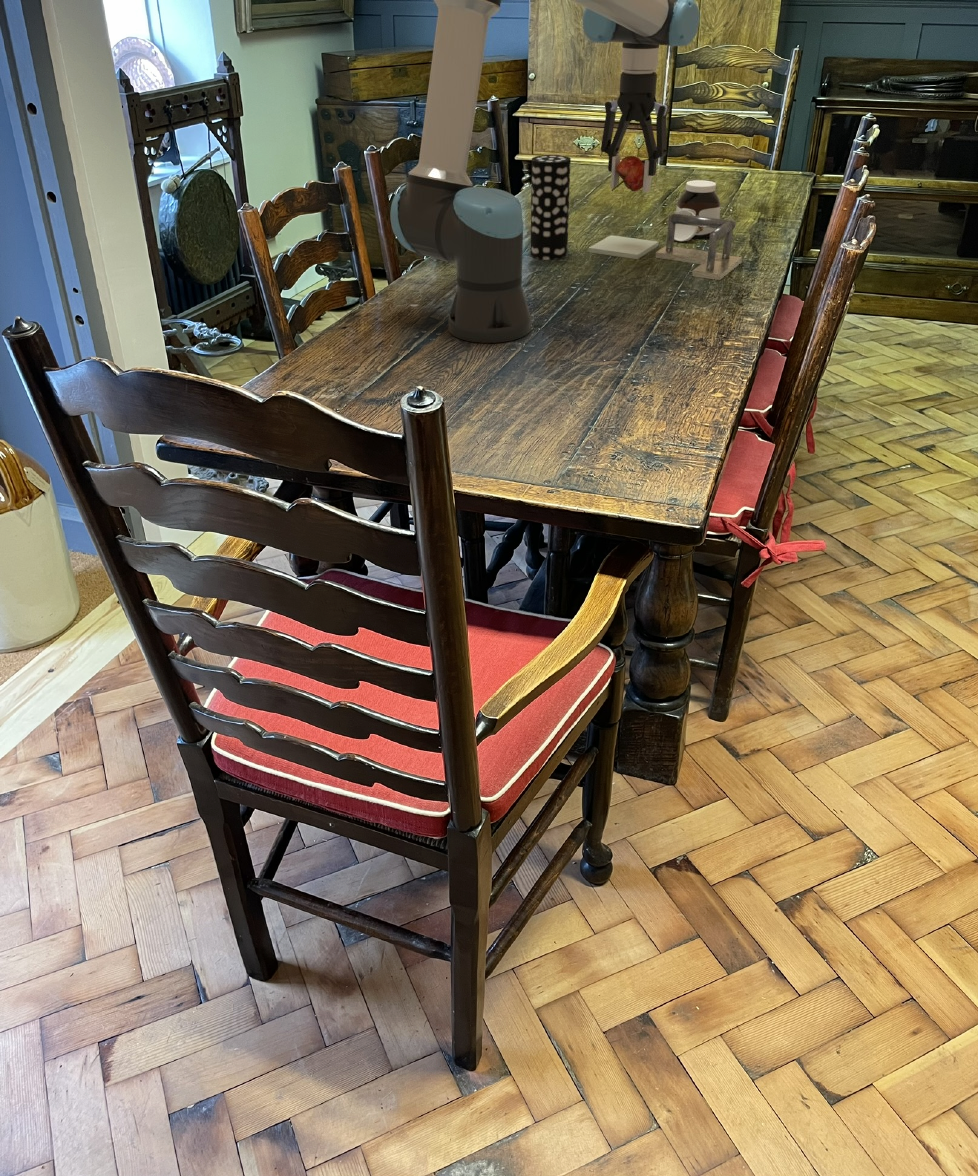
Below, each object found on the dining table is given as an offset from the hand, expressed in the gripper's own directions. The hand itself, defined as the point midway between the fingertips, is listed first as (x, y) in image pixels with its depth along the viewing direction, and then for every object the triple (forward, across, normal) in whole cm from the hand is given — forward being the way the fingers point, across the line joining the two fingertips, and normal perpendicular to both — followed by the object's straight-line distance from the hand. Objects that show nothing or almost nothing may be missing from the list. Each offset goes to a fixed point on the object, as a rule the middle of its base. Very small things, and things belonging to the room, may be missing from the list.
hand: (630, 189), depth 205 cm
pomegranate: (+1, 0, 0) cm, 1 cm away
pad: (+13, +1, 0) cm, 13 cm away
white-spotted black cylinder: (+13, +14, +12) cm, 22 cm away
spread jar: (+13, -9, -17) cm, 24 cm away
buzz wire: (+13, -17, +4) cm, 22 cm away
